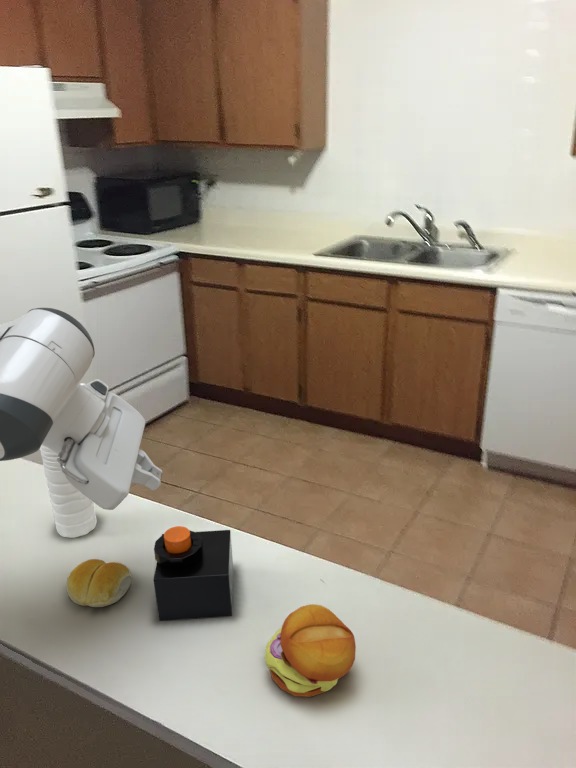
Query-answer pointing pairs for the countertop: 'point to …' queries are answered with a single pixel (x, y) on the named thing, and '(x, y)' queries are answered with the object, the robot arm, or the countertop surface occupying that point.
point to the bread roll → (98, 583)
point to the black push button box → (195, 577)
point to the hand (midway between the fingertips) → (158, 481)
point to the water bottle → (67, 499)
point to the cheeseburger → (310, 651)
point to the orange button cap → (177, 539)
